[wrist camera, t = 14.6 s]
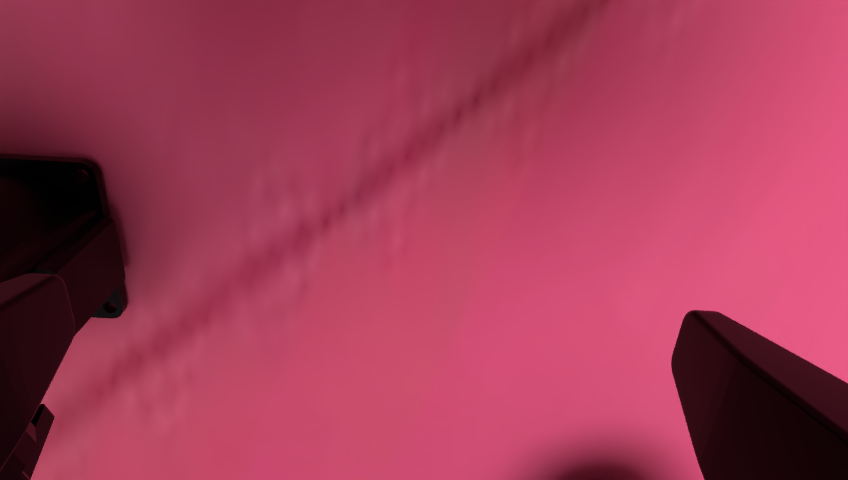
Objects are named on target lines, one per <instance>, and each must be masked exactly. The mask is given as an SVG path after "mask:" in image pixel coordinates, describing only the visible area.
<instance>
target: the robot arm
mask: <svg viewBox="0 0 848 480" xmlns="http://www.w3.org/2000/svg"><path fill="white" fill-rule="evenodd" d="M80 169H81V170H84V171H85V172H87V174H88V176H89V179H88V178H85V177H83V176H82V175H81V173H80ZM124 279H125V271H124V266H123V261H122V256H121V251H120V246H119V241H118V235H117V230H116V225H115V221H114V220H113V219H112V218H111V216H110V214H109V209H108V204H107V199H106V194H105V189H104V184H103V179H102V173H101V171H100V168H99V167H98V166H97V164H96V163H94V162H93V161H91V160H88V159H82V158H65V157H48V156H30V155H13V154H0V480H30V479H31V476H32V474H33V471H34V469H35V466H36V464H37V461H38V458H39V456H40V453H41V451H42V448H43V446H44V443H45V441H46V438H47V435H48V433H49V430H50V428H51V425H52V423H53V420H54V415H53V414H52V413H51V412H50V410H49V409H48V408H47V407H46V406H45V405H44V404H40V403H41V401H42V399H43V397H44V395H45V393H46V391H47V390H48V388H49V386H50V384H51V382H52V380H53V378H54V376H55V374H56V372H57V370H58V368H59V366H60V364H61V362H62V360H63V358H64V356H65V354H66V352H67V350H68V348H69V346H70V344H71V342H72V340H73V337H74V336H75V335H76V333H77V332H78V331H79V330H80V329H81V328H82V327H83V326H84V324H85V323H86V322H87V321H88V320H89V319H90V318H91V317H96V318H117V317H119V316H120V315H121V314H122V313H123V312H124V311H125V309H126V308H127V300H126V295H125V290H124V285H123V280H124ZM108 302H110V303H113V304H114V305H115V306H116V308H115V307H112V306H111V305H109V303H108ZM671 366H672V373H673V377H674V380H675V384H676V387H677V391H678V394H679V398H680V401H681V405H682V409H683V412H684V416H685V419H686V423H687V426H688V430H689V433H690V437H691V441H692V444H693V448H694V451H695V454H696V457H697V460H698V464H699V466H700V469H701V472H702V474H703V477H704V479H705V480H848V383H846V382H844V381H843V380H841V379H839V378H837V377H835V376H834V375H832V374H830V373H828V372H826V371H824V370H823V369H821V368H819V367H817V366H815V365H814V364H812V363H810V362H808V361H806V360H805V359H803V358H801V357H799V356H797V355H796V354H794V353H792V352H790V351H788V350H787V349H785V348H783V347H781V346H779V345H777V344H776V343H774V342H772V341H770V340H768V339H767V338H765V337H763V336H761V335H759V334H758V333H756V332H754V331H752V330H750V329H749V328H747V327H745V326H743V325H741V324H739V323H738V322H736V321H734V320H732V319H730V318H729V317H727V316H725V315H723V314H721V313H719V312H715V311H700V310H692V311H690V312H688V313H687V314H686V315H685V317H684V319H683V322H682V325H681V328H680V331H679V335H678V338H677V341H676V345H675V348H674V351H673V355H672V361H671Z"/></svg>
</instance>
